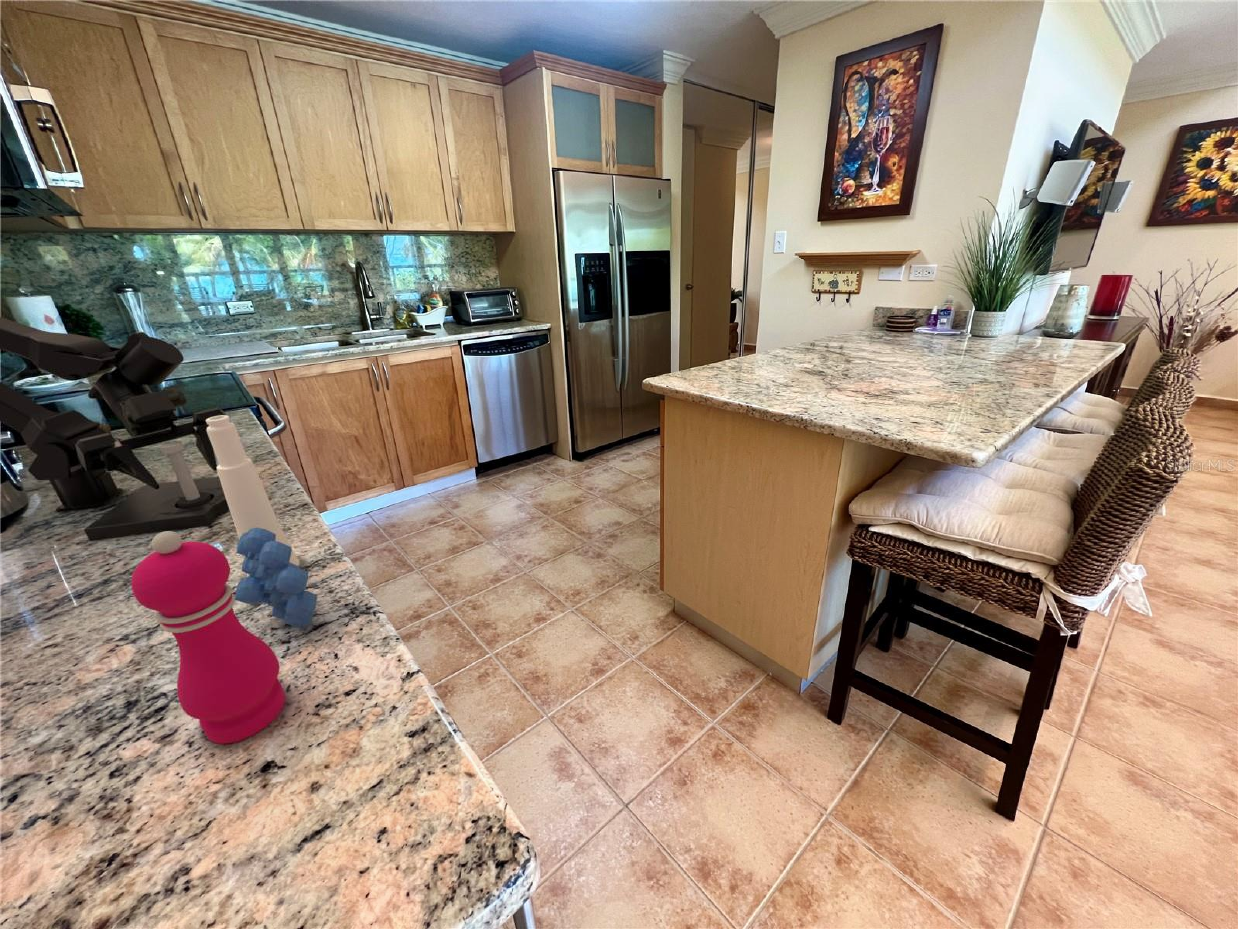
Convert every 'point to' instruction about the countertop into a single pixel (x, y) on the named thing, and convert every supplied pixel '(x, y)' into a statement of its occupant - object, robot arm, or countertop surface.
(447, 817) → the countertop surface
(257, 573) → the grapes
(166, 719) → the countertop surface
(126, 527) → the plate
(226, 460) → the cosmetic bottle
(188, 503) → the stopper
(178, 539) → the pepper mill
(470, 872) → the countertop surface
